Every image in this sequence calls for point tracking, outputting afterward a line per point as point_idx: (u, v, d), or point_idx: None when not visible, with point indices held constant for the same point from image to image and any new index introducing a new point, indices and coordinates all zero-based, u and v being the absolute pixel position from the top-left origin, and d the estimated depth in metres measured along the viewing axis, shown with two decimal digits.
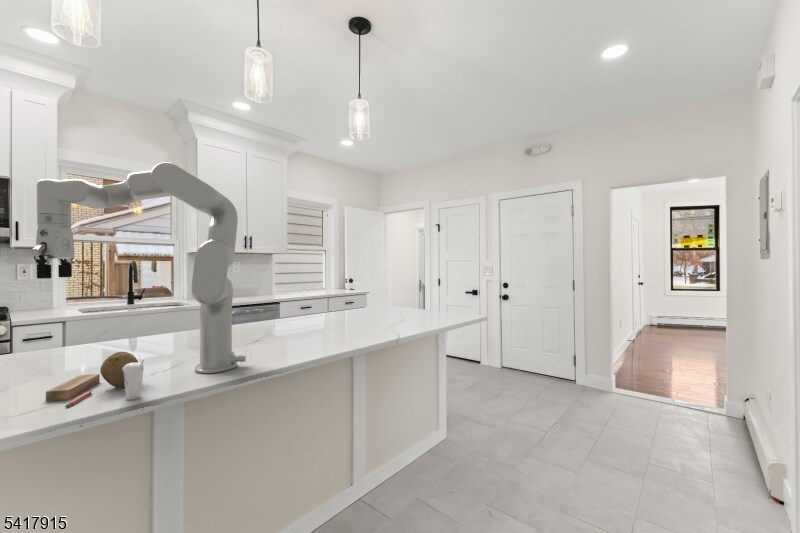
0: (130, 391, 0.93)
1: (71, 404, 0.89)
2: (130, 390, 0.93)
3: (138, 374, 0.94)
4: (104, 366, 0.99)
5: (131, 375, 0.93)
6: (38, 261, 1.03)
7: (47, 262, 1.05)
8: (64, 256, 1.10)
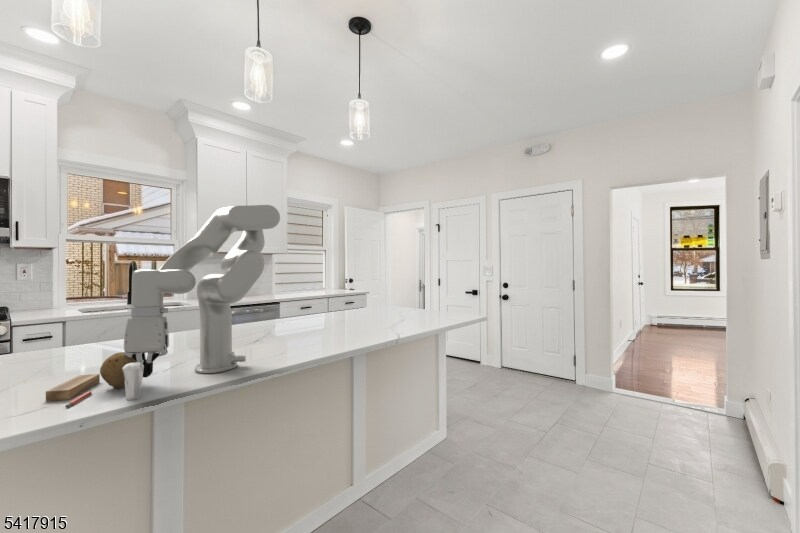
0: (130, 391, 0.93)
1: (71, 404, 0.89)
2: (130, 390, 0.93)
3: (138, 374, 0.94)
4: (104, 367, 0.99)
5: (131, 375, 0.93)
6: (154, 359, 1.04)
7: None
8: None
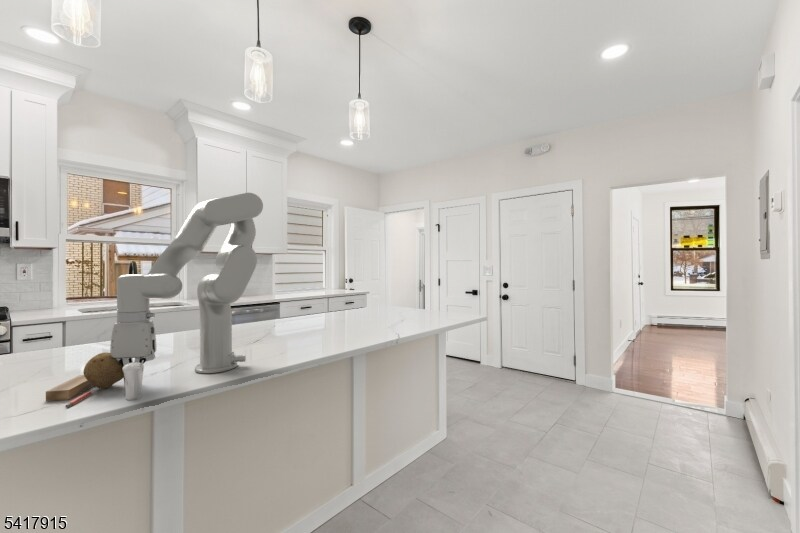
0: (130, 391, 0.93)
1: (71, 404, 0.89)
2: (130, 390, 0.93)
3: (138, 374, 0.94)
4: (88, 367, 0.98)
5: (132, 375, 0.93)
6: None
7: None
8: None
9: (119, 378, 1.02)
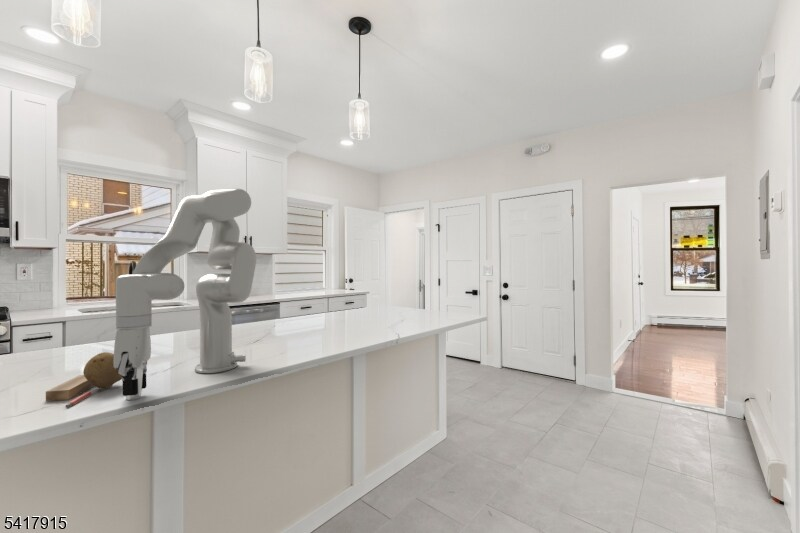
0: None
1: (71, 404, 0.89)
2: None
3: (138, 374, 0.93)
4: (89, 367, 0.98)
5: None
6: None
7: None
8: None
9: (119, 378, 1.02)
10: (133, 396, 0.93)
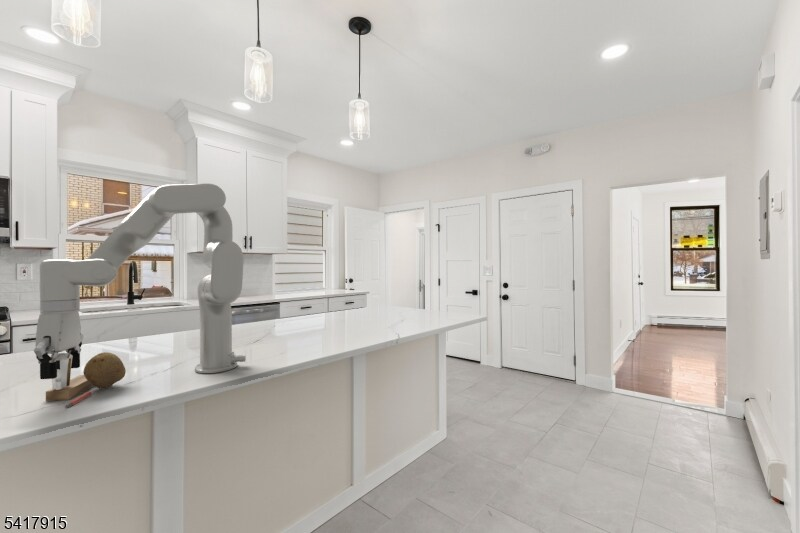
0: (57, 381, 0.93)
1: (71, 404, 0.89)
2: (57, 380, 0.93)
3: (65, 364, 0.94)
4: (89, 367, 0.98)
5: (58, 366, 0.93)
6: None
7: None
8: None
9: (119, 378, 1.02)
10: (60, 386, 0.93)
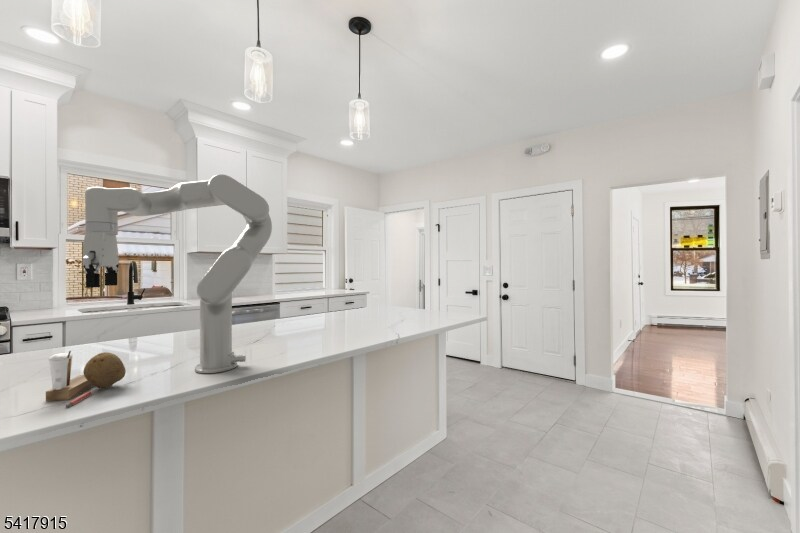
0: (56, 381, 0.93)
1: (71, 404, 0.89)
2: (56, 380, 0.93)
3: (65, 364, 0.94)
4: (89, 367, 0.98)
5: (58, 366, 0.93)
6: None
7: None
8: None
9: (119, 378, 1.02)
10: (60, 386, 0.93)
